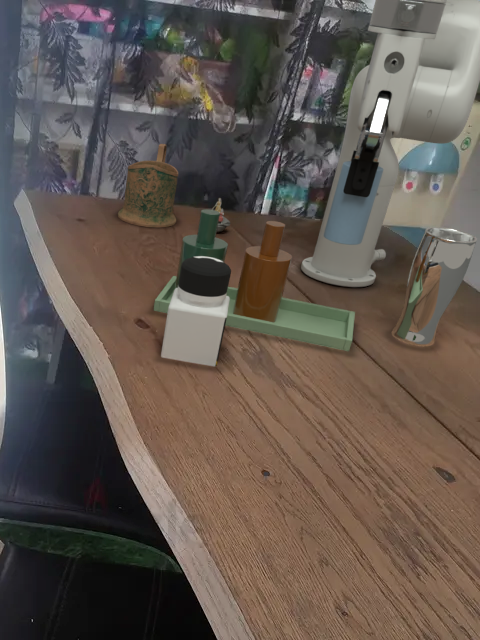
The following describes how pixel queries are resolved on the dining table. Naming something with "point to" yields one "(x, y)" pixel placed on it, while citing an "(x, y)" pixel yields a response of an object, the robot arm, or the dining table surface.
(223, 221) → the figurine
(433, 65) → the robot arm
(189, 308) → the medicine bottle
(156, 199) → the bronze bell
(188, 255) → the green bottle
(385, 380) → the dining table surface
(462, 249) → the beer glass
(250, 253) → the amber bottle
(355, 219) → the blue bottle
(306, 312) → the tray
